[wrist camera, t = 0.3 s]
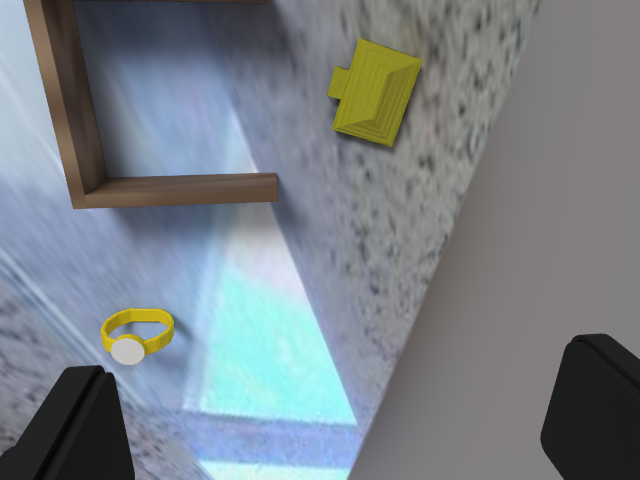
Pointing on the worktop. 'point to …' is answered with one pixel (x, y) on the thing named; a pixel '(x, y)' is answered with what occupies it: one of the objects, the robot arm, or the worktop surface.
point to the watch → (132, 346)
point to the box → (83, 138)
